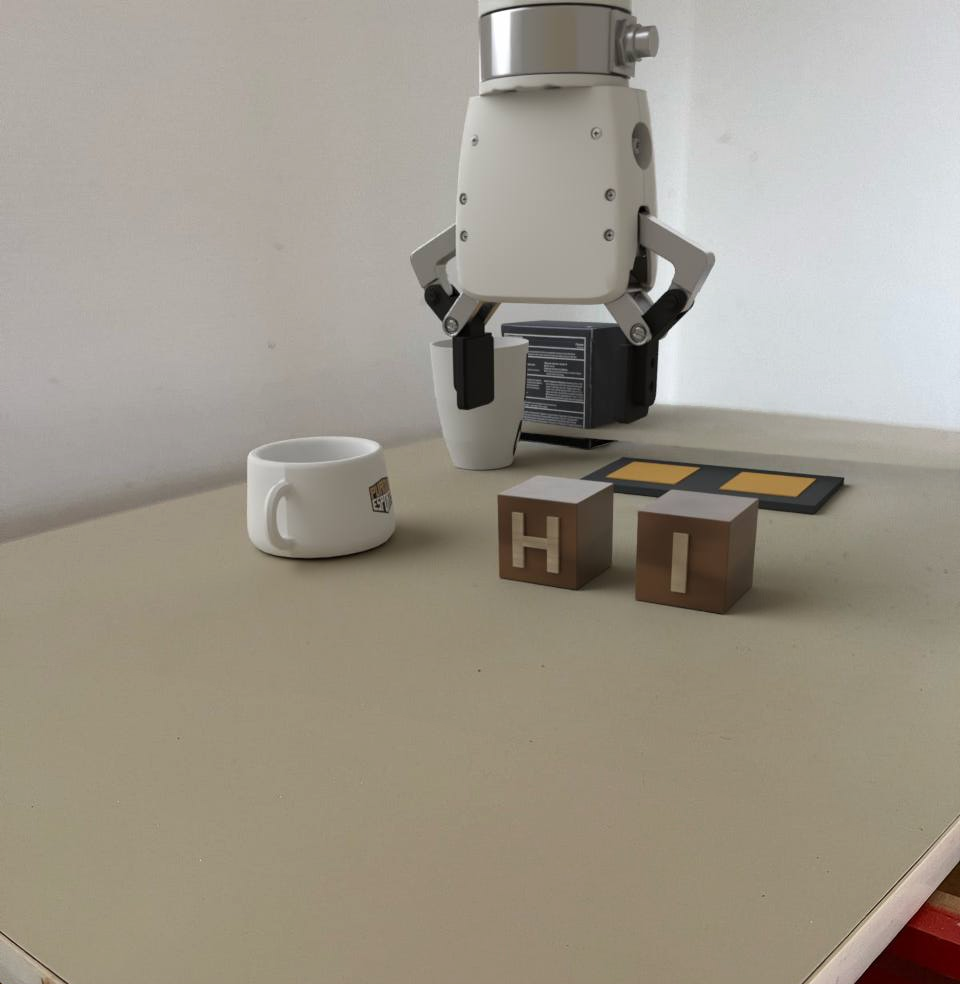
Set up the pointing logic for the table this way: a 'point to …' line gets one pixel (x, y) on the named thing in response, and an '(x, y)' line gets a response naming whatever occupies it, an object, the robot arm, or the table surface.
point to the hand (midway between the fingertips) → (550, 412)
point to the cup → (483, 407)
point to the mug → (318, 497)
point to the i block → (696, 550)
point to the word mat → (720, 482)
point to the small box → (569, 376)
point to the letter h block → (555, 531)
